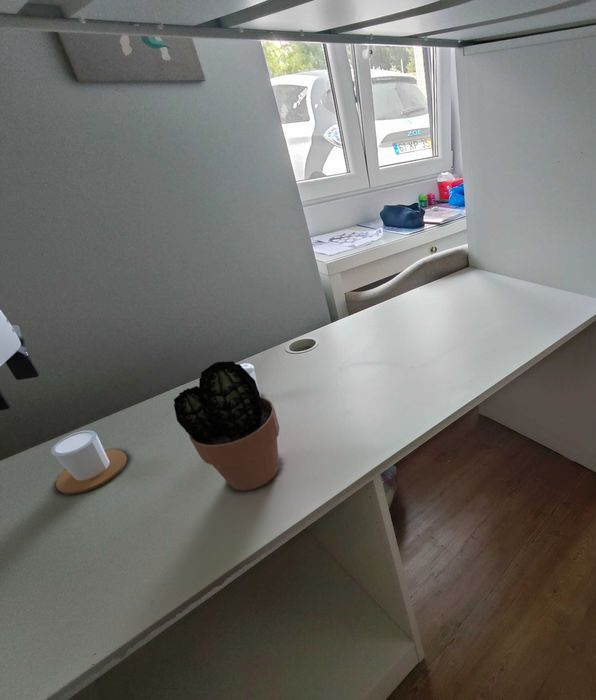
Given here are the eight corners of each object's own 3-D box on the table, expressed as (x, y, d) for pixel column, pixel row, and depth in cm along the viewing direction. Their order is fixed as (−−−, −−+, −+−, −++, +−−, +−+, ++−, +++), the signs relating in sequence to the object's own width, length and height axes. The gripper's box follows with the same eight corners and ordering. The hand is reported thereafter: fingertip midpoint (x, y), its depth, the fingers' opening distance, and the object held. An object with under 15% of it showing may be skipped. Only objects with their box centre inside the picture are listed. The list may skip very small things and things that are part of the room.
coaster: (46, 501, 80) (44, 499, 79) (71, 460, 89) (69, 457, 88) (116, 484, 83) (115, 482, 82) (133, 445, 92) (132, 443, 91)
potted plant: (261, 439, 92) (221, 333, 79) (307, 461, 85) (272, 350, 72) (199, 484, 82) (141, 371, 69) (246, 513, 75) (193, 395, 63)
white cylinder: (109, 451, 89) (93, 424, 86) (116, 468, 85) (99, 441, 82) (67, 470, 85) (48, 442, 82) (72, 489, 81) (52, 461, 78)
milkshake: (237, 406, 102) (222, 370, 96) (250, 392, 106) (237, 357, 101) (255, 407, 101) (241, 371, 96) (267, 393, 105) (255, 358, 100)
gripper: (-44, 280, 71) (13, 371, 79) (-128, 326, 57) (-47, 430, 65) (13, 274, 73) (63, 363, 81) (-54, 317, 59) (15, 419, 67)
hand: (14, 392), depth 73 cm, fingers open, 9 cm apart
